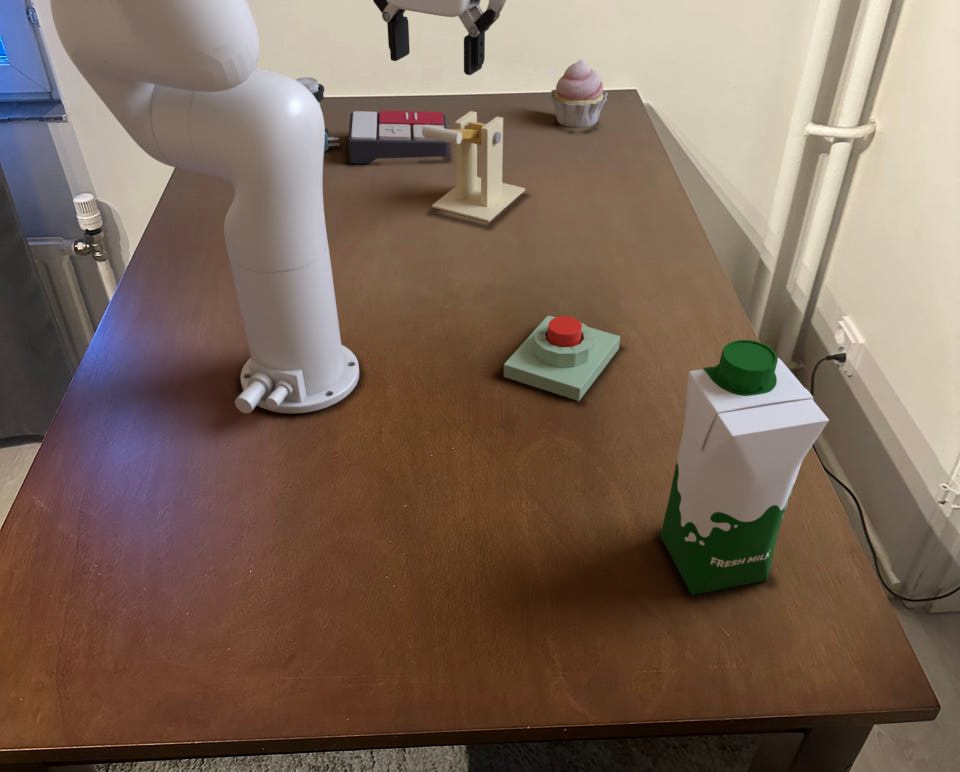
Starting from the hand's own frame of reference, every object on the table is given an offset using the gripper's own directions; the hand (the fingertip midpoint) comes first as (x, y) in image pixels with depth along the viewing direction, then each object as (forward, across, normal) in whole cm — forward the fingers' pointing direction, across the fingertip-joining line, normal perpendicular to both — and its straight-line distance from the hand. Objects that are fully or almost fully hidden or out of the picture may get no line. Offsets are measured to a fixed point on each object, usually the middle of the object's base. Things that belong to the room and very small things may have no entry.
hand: (436, 64), depth 102 cm
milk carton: (+23, +49, -37) cm, 66 cm away
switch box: (+23, +25, -17) cm, 38 cm away
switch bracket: (+22, -1, +12) cm, 25 cm away
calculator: (+22, -21, +24) cm, 38 cm away
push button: (+22, -32, +18) cm, 43 cm away
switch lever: (+12, -1, +8) cm, 14 cm away
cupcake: (+22, 0, +45) cm, 50 cm away
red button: (+20, +25, -17) cm, 36 cm away
